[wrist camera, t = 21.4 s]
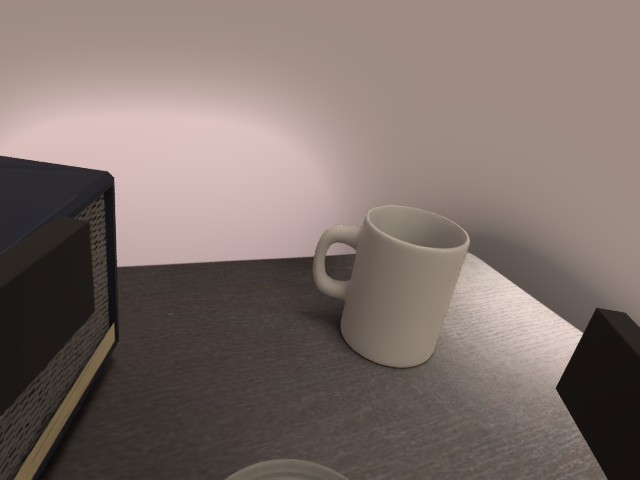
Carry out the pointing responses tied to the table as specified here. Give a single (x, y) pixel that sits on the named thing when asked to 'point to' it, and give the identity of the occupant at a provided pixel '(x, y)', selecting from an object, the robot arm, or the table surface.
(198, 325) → the table surface
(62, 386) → the speaker
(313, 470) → the beverage can
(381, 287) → the mug
